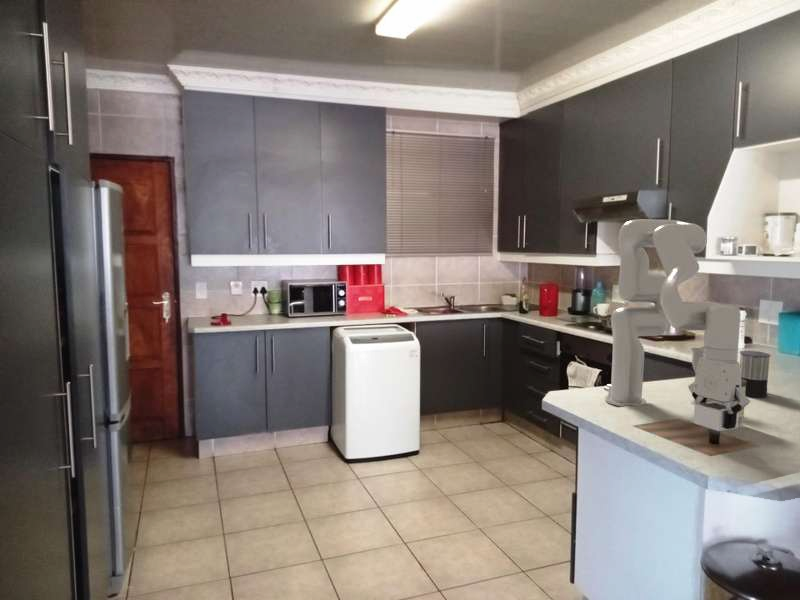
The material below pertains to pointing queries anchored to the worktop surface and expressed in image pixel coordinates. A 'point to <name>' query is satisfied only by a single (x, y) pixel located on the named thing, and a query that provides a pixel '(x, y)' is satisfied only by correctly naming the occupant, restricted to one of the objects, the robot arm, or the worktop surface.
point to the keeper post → (714, 436)
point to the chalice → (696, 361)
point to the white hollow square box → (711, 415)
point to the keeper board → (695, 437)
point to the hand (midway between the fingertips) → (715, 423)
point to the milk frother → (755, 372)
